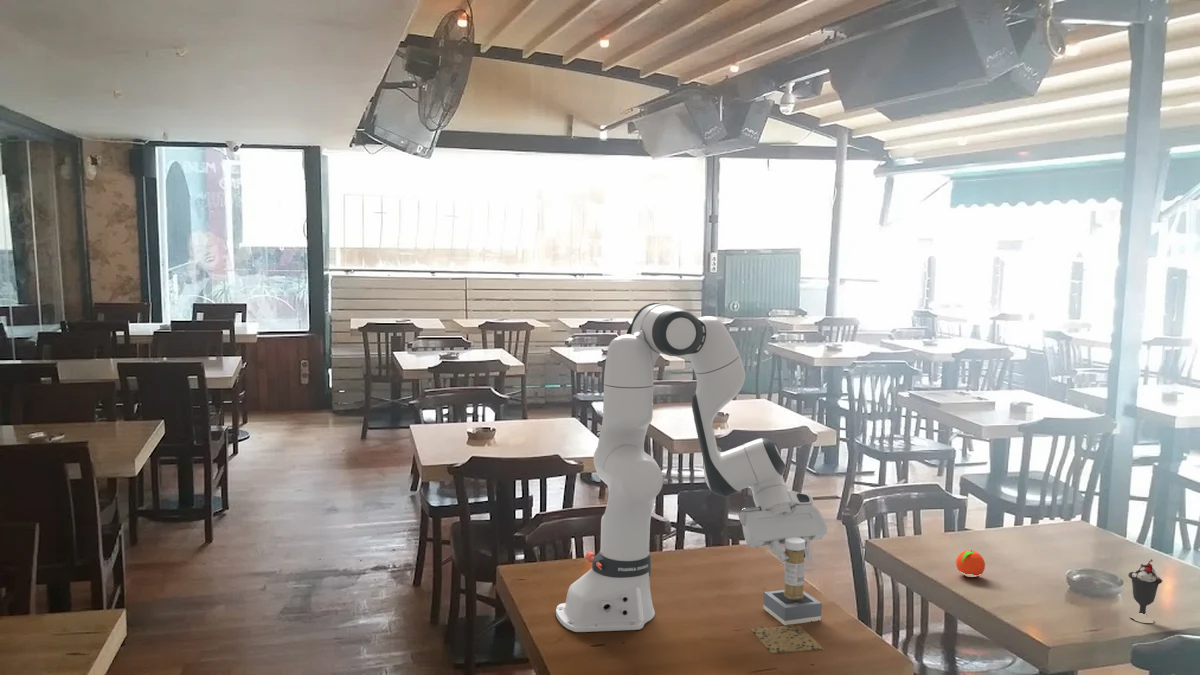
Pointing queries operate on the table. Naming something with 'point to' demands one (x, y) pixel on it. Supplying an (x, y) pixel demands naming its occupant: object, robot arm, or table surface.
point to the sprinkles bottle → (794, 568)
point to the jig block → (792, 608)
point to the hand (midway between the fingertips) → (796, 559)
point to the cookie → (786, 639)
